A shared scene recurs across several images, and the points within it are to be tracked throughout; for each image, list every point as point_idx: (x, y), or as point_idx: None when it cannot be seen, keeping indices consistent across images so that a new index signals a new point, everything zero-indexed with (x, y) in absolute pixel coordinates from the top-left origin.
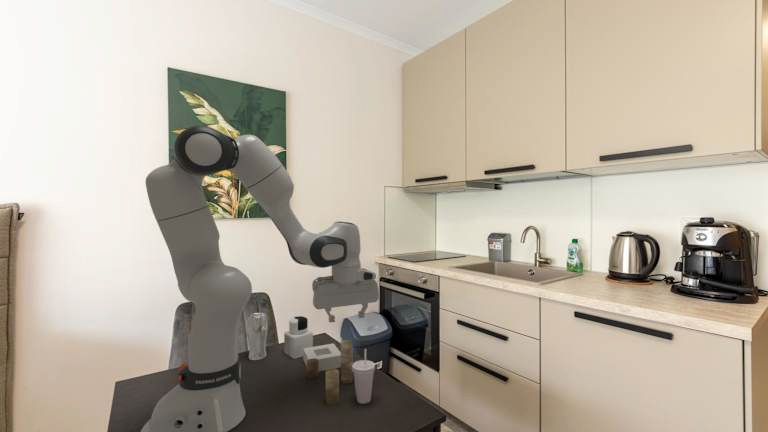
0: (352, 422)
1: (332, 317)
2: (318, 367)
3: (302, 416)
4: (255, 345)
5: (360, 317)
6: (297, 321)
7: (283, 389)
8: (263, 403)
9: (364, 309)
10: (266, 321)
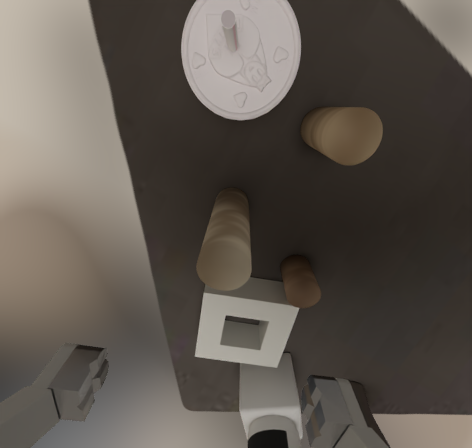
0: None
1: (345, 416)
2: (287, 275)
3: (425, 103)
4: (370, 419)
5: (99, 349)
6: None
7: (381, 251)
8: (452, 220)
9: (5, 417)
10: None
